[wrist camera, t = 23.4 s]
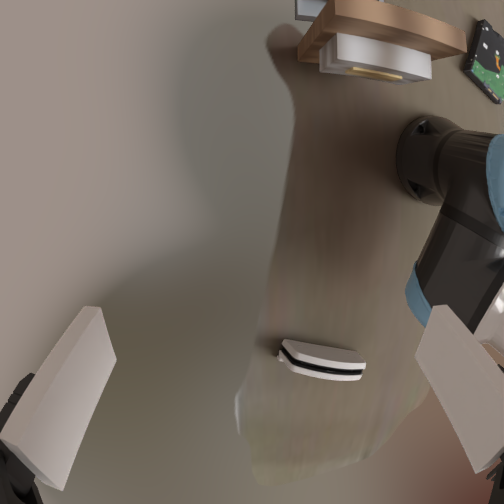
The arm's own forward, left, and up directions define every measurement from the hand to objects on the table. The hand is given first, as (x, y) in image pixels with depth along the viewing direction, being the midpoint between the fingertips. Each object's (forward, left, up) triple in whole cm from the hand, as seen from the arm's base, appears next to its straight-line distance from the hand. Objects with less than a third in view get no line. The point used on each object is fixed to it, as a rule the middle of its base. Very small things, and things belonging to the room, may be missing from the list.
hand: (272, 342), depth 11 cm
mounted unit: (-13, -18, -37) cm, 43 cm away
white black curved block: (-14, +33, -37) cm, 52 cm away
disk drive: (-44, -27, -38) cm, 64 cm away
